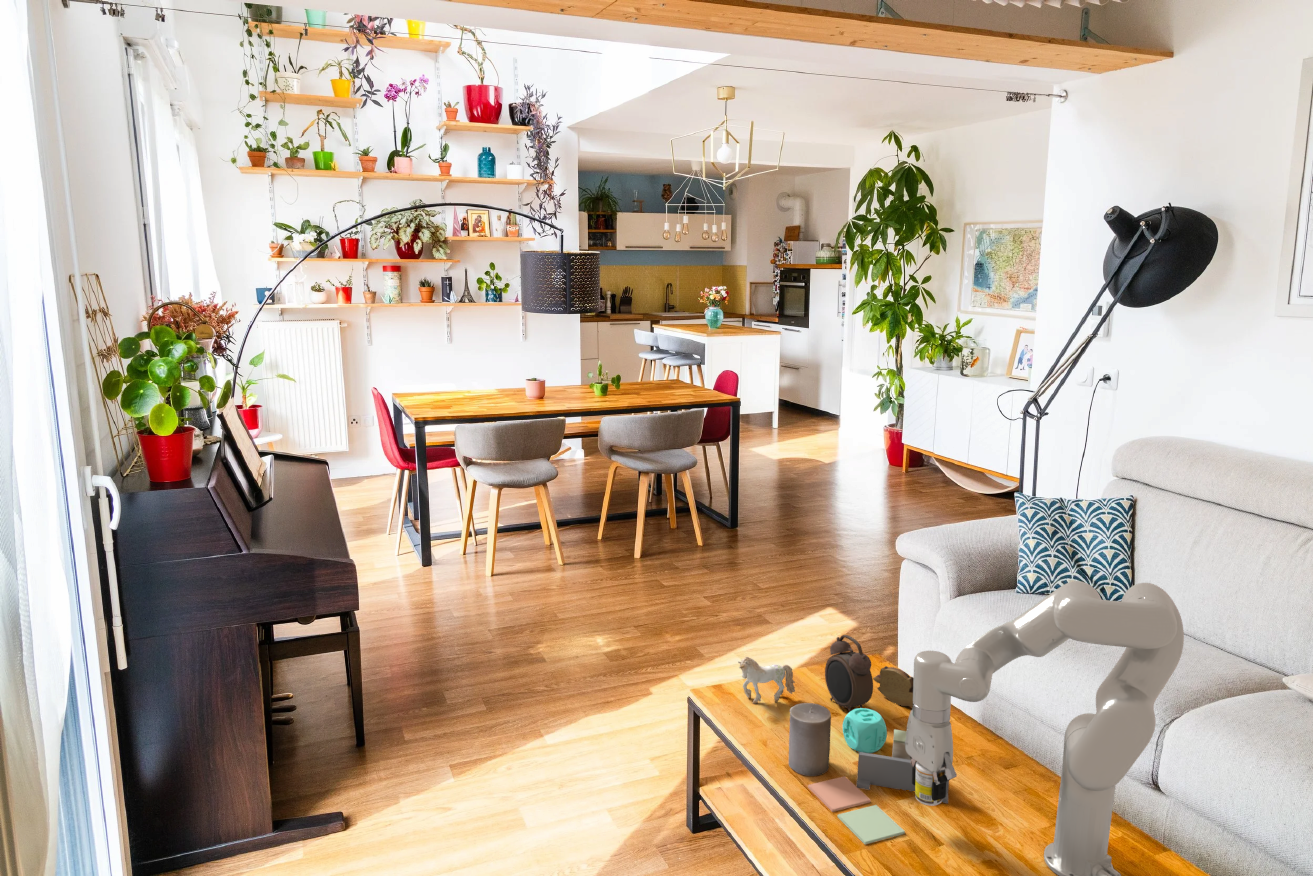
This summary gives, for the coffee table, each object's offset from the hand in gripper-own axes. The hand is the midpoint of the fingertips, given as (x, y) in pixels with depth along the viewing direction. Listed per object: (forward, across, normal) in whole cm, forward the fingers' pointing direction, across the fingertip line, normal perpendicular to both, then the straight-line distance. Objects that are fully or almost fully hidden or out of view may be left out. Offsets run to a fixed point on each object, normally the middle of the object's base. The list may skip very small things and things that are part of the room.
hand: (928, 790), depth 187 cm
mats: (+8, -11, -11) cm, 17 cm away
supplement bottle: (+2, 0, 0) cm, 2 cm away
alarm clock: (+8, -51, +14) cm, 53 cm away
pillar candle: (+8, -30, -11) cm, 33 cm away
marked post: (+8, -18, +8) cm, 21 cm away
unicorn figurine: (+7, -60, -6) cm, 61 cm away
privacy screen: (+8, -14, +4) cm, 17 cm away
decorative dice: (+8, -33, +7) cm, 35 cm away
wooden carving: (+8, -48, +29) cm, 57 cm away
